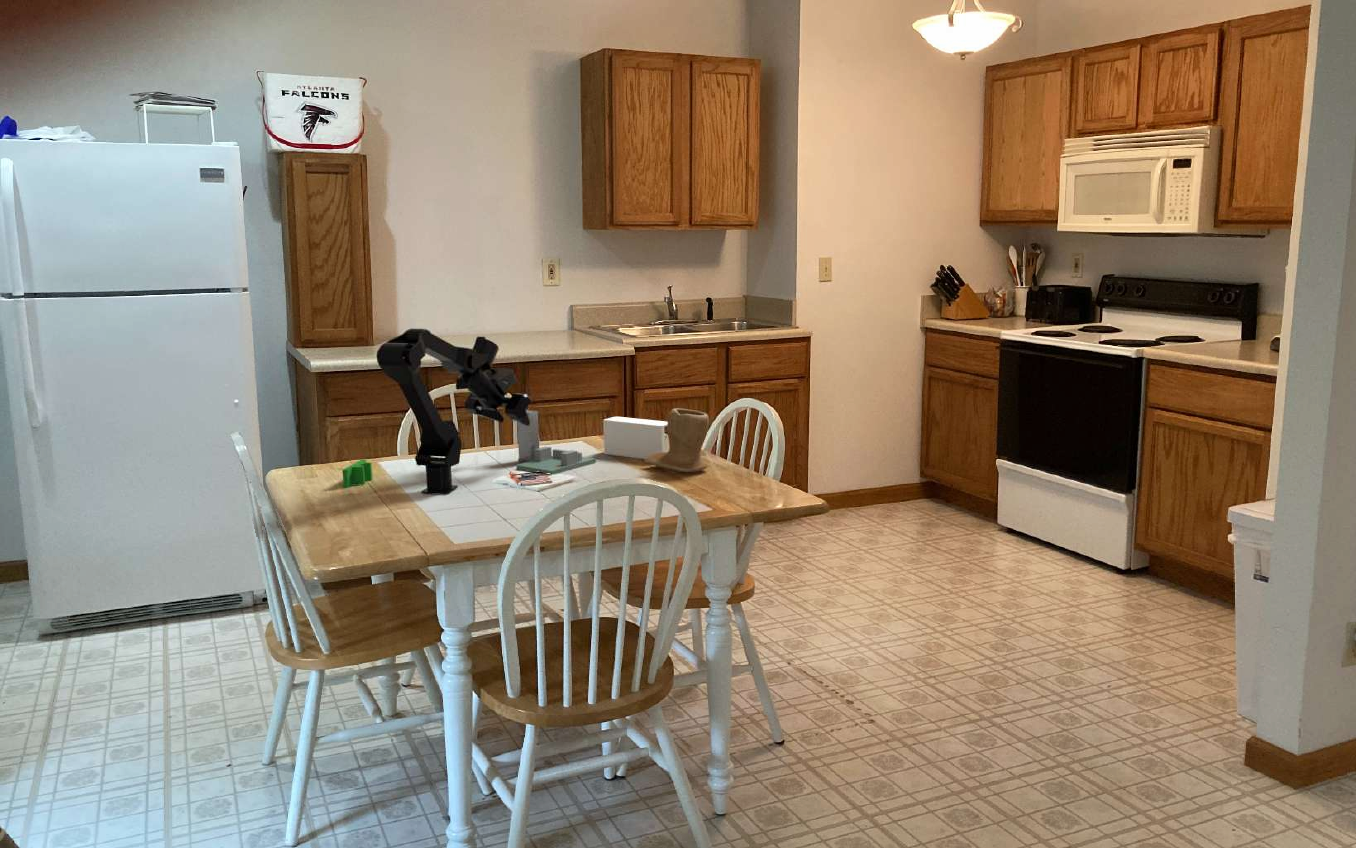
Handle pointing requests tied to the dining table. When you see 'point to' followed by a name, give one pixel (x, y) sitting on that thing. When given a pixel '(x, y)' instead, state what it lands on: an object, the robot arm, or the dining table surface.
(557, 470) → the socket plate
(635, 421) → the white rectangular box
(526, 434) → the bar
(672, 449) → the fuzzy boot
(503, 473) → the dining table surface
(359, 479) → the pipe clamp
